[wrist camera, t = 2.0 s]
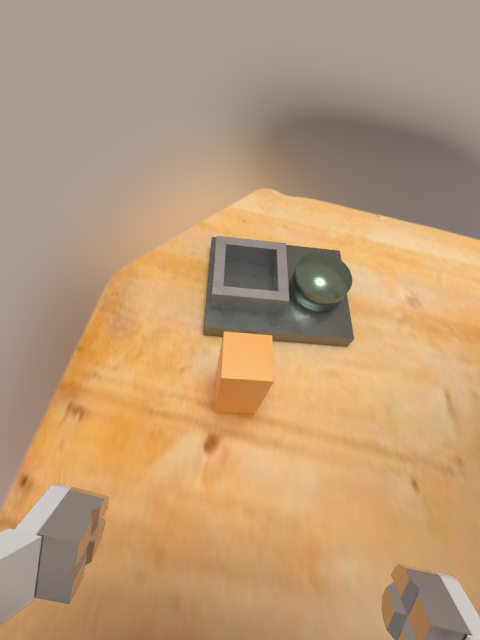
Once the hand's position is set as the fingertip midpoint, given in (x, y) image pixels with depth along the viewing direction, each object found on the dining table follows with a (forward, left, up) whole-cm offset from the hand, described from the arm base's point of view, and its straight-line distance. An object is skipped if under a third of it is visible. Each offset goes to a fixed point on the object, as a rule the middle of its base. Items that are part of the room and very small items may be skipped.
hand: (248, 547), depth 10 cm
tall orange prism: (-2, -13, -26) cm, 29 cm away
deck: (-7, -27, -26) cm, 38 cm away
